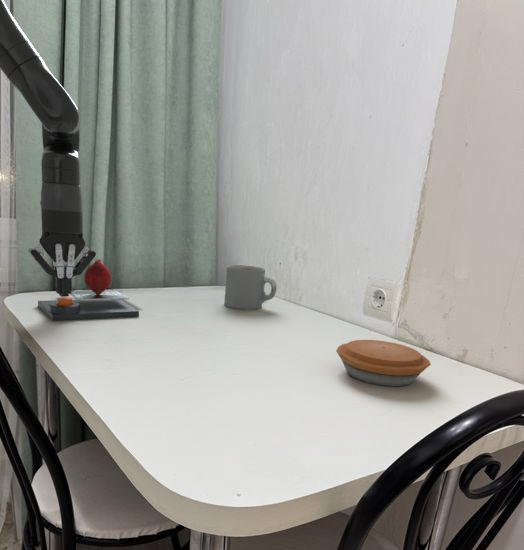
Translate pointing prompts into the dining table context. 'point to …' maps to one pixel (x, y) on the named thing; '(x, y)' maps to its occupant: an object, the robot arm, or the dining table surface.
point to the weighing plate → (98, 295)
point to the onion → (98, 277)
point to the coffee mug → (247, 287)
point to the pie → (382, 362)
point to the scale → (87, 310)
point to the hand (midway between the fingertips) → (64, 295)
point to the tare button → (64, 301)
